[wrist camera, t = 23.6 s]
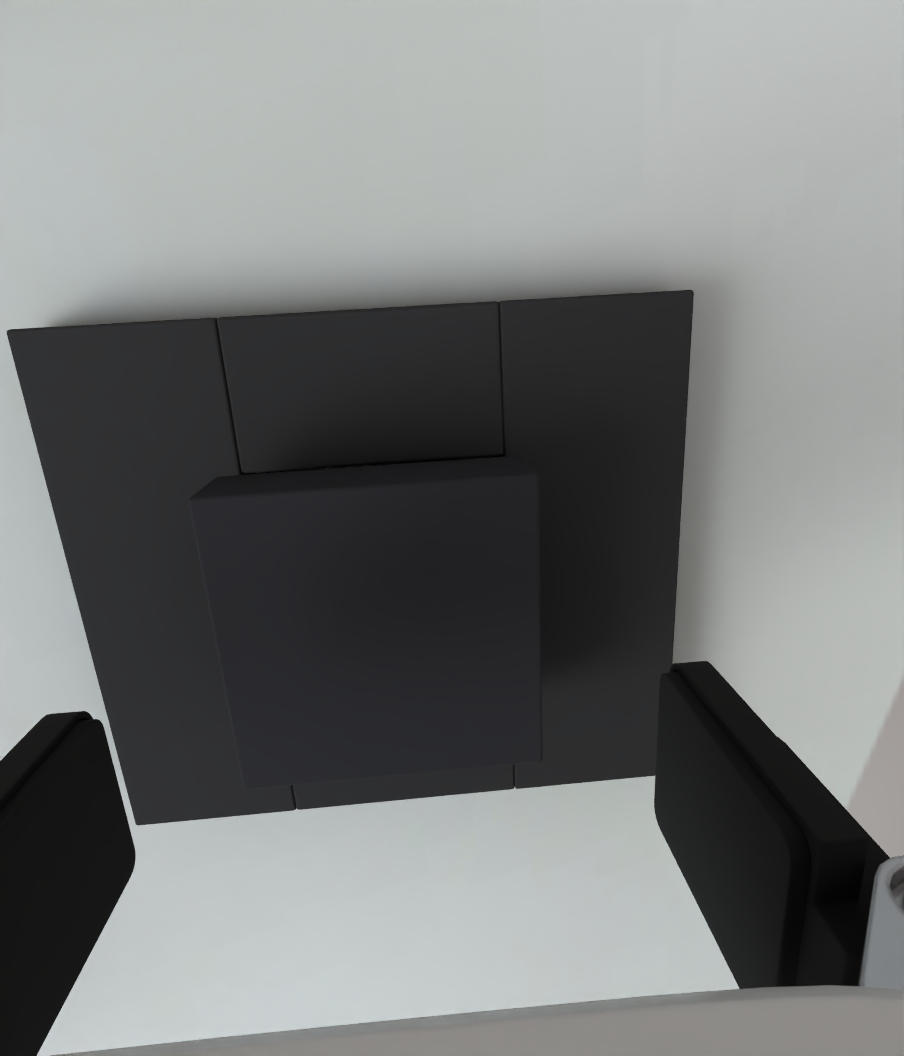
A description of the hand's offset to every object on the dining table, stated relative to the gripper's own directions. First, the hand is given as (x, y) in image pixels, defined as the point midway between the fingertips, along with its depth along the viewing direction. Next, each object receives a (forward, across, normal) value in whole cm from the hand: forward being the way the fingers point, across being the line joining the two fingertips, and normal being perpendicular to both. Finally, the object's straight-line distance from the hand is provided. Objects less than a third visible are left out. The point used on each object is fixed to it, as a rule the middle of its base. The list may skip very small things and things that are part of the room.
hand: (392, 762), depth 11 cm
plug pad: (+8, 0, 0) cm, 8 cm away
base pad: (+8, 0, 0) cm, 8 cm away
